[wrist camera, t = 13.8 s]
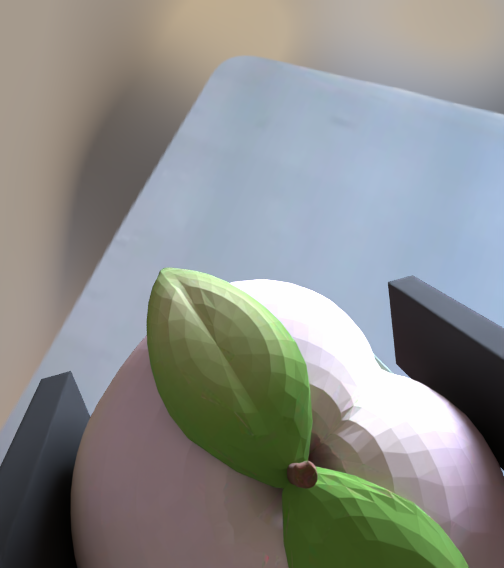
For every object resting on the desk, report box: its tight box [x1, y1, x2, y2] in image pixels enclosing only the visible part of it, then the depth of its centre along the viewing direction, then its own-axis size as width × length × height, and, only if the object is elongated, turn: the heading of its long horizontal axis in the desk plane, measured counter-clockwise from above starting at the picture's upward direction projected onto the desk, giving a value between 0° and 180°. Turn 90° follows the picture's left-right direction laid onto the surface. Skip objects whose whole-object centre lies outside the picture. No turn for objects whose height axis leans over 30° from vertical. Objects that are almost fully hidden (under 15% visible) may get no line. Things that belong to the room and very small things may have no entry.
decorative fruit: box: [70, 268, 504, 568], centre depth 10 cm, size 9×8×10 cm
